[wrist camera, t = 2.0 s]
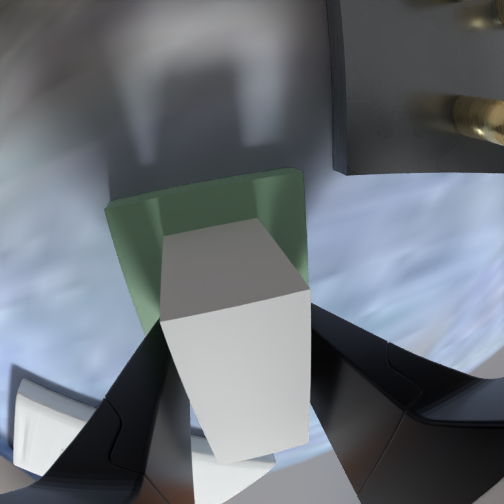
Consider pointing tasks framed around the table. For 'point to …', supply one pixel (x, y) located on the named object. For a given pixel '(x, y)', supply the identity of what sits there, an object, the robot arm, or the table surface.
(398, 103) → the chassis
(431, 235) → the table surface
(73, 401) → the external hard drive
